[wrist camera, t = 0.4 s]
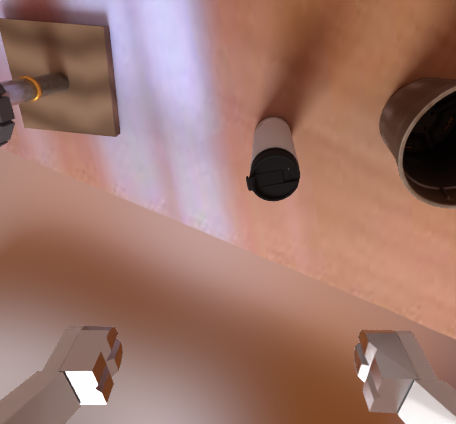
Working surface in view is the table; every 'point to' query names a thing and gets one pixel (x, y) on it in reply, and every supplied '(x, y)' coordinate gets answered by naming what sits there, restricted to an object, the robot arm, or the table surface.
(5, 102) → the grey gear
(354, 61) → the table surface
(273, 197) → the travel mug
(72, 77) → the stand
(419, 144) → the plant pot
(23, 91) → the metallic rounded rod
